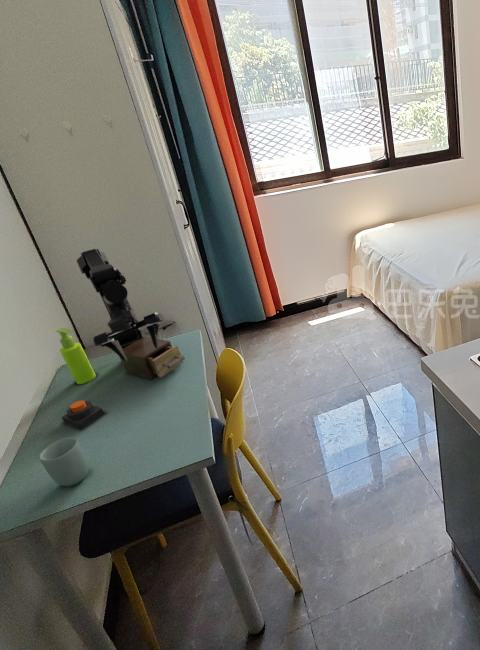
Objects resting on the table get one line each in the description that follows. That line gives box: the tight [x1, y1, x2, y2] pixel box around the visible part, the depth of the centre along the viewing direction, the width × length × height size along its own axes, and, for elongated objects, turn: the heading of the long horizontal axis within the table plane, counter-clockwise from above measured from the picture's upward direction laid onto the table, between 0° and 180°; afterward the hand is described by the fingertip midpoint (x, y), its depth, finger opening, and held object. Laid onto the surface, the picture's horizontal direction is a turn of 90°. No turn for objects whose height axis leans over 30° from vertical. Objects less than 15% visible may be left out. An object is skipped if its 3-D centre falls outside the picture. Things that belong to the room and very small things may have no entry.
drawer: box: [146, 345, 186, 379], centre depth 152 cm, size 17×9×7 cm, turn 65°
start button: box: [69, 399, 87, 413], centre depth 132 cm, size 4×4×2 cm
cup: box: [38, 436, 90, 487], centre depth 109 cm, size 8×8×10 cm
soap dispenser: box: [56, 327, 97, 385], centre depth 150 cm, size 6×7×20 cm
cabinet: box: [118, 336, 173, 380], centre depth 155 cm, size 14×11×9 cm
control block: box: [60, 400, 106, 430], centre depth 133 cm, size 9×7×4 cm
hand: (141, 354), depth 135 cm, fingers open, 9 cm apart
